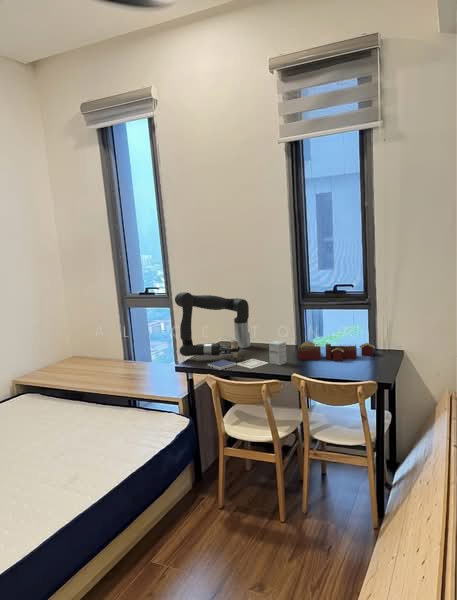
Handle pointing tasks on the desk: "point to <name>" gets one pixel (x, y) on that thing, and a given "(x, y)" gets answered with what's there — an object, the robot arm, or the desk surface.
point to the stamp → (234, 354)
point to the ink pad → (222, 364)
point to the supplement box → (277, 352)
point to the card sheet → (252, 363)
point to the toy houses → (332, 351)
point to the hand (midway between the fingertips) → (239, 349)
